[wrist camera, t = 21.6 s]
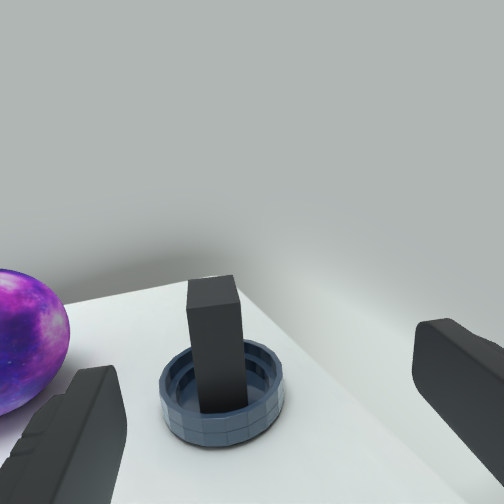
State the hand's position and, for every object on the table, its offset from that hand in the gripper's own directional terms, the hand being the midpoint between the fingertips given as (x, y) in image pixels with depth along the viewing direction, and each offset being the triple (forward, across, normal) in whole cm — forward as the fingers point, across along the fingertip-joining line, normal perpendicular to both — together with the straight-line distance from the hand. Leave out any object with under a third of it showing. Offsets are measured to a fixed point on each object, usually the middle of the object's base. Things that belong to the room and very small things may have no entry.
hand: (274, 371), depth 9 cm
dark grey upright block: (+21, +2, +19) cm, 28 cm away
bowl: (+21, +2, +19) cm, 29 cm away
